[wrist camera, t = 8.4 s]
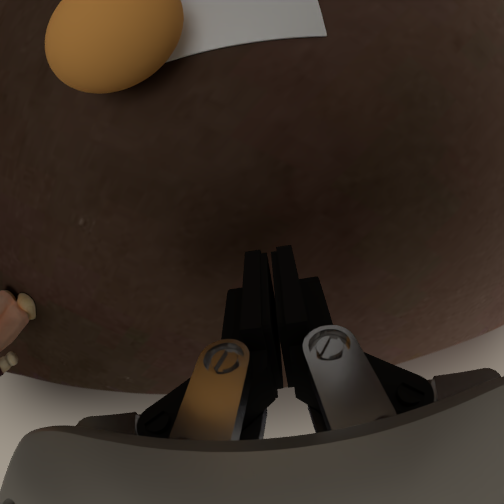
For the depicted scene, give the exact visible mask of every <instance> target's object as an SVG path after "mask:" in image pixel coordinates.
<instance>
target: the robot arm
mask: <svg viewBox="0 0 504 504" xmlns="http://www.w3.org/2000/svg"><path fill="white" fill-rule="evenodd" d="M276 249H277V251H274V252H271V257H272V268H273V279H274V291H275V296H274V291H273V285H272V280H271V274H270V269H269V263H268V258H267V253H261V251H260V250H255V251H249V252H245V260H244V274H243V288H237V289H230V290H228V293H227V300H226V308H225V315H224V323H223V330H222V338H221V340H219V341H216V342H213V343H212V344H210V345H208V346H207V347H206V348H205V349H204V350H203V351H202V352H201V354H200V356H199V358H198V361H197V363H196V366H195V369H194V371H193V374H192V377H191V378H189V379H188V380H187V381H185V382H184V383H182V384H181V385H180V386H178V387H177V388H176V389H174V390H173V391H171V392H170V393H169V394H167V395H166V396H164V397H163V398H162V399H160V400H159V401H158V402H156V403H155V404H153V405H152V406H150V407H149V408H147V409H146V410H145V411H144V412H143V413H142V414H141V415H138V414H137V413H136V412H132V413H124V414H116V415H115V414H114V415H103V416H90V417H86V418H84V419H82V420H81V421H79V423H78V424H77V425H76V426H50V427H44V428H40V429H36V430H34V431H31V432H29V433H28V434H26V435H25V436H24V437H23V438H22V440H21V441H20V442H19V444H18V446H17V448H16V450H15V452H14V454H13V456H12V458H11V461H10V463H9V466H8V468H7V472H6V475H5V477H4V481H3V484H2V487H1V491H0V504H504V377H501V376H500V374H499V373H497V372H496V371H495V370H493V369H490V368H483V369H477V370H472V371H467V372H460V373H453V374H446V375H439V376H434V377H433V379H432V380H426V379H425V378H423V377H421V376H419V375H417V374H414V373H412V372H410V371H407V370H405V369H402V368H400V367H397V366H395V365H393V364H390V363H388V362H386V361H383V360H381V359H379V358H376V357H374V356H372V355H369V354H367V353H365V352H363V350H362V349H361V347H360V345H359V343H358V341H357V340H356V338H355V336H354V335H353V334H352V333H351V332H350V331H349V330H347V329H346V328H344V327H341V326H337V325H333V323H332V320H331V317H330V313H329V310H328V307H327V303H326V300H325V297H324V294H323V290H322V287H321V284H320V281H319V278H318V277H311V278H304V279H299V278H298V274H297V269H296V264H295V260H294V256H293V251H292V247H291V245H287V246H281V247H276ZM280 343H281V348H282V354H283V360H284V365H285V371H286V377H287V382H288V388H289V387H294V388H295V394H296V398H298V399H299V400H301V401H303V402H304V403H306V404H308V410H309V413H310V416H311V420H312V423H313V426H314V429H315V432H316V433H313V434H307V435H299V436H291V437H282V438H271V439H263V436H264V430H265V424H266V418H267V407H268V406H269V405H270V404H271V403H272V402H274V400H275V398H278V391H277V389H281V388H283V376H282V362H281V350H280Z"/></svg>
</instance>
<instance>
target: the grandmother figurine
mask: <svg viewBox="0 0 504 504" xmlns="http://www.w3.org/2000/svg"><path fill="white" fill-rule="evenodd" d="M35 318H36V308H35V303H34V301H33V300H32V298H31V297H30V296H28V295H27V294H25V293H20V294H19V296H18V299H17V300H16V298H15V296H14V295H13V294H12V293H11V292H10V291H8V290H4V291H3V290H1V291H0V351H2V350H3V349H4V348H5V347H7V346H8V345H9V344H10V343H11V342H13V341H14V340H15V338H16V337H17V336H18V335H19V333H20V332H21V331H22V329H23V328H24V327H25V326H26V324H27V323H28V322H29V320H32V319H35ZM17 363H18V357H17V355H16V354H15V353H14V352H8V353H7V354H6V356H2V357H1V358H0V376H1V375H3V374H4V372H6V371H7V370H9V369H10V367H11V366H14V365H16V364H17Z"/></svg>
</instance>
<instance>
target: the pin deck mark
mask: <svg viewBox="0 0 504 504" xmlns="http://www.w3.org/2000/svg"><path fill="white" fill-rule="evenodd" d="M181 3H182V7H183V14H184V22H183V29H182V33H181V36H180V39H179V42H178V44H177V46H176V48H175V50H174V51H173V53H172V54H171V56H170V57H169V59H168V60H167V61H166V62H169V61H172V60H176V59H179V58H183V57H187V56H190V55H194V54H198V53H202V52H206V51H211V50H215V49H220V48H225V47H230V46H236V45H241V44H248V43H254V42H261V41H269V40H279V39H290V38H304V37H326V36H327V34H326V30H325V26H324V22H323V18H322V14H321V10H320V7H319V3H318V0H181ZM166 62H165V63H166Z"/></svg>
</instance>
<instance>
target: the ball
mask: <svg viewBox="0 0 504 504" xmlns="http://www.w3.org/2000/svg"><path fill="white" fill-rule="evenodd" d="M183 22H184V14H183V7H182V3H181V0H62V1H61V2H60V3H59V5H58V6H57V8H56V9H55V11H54V13H53V14H52V17H51V19H50V21H49V24H48V27H47V31H46V36H45V52H46V57H47V61H48V63H49V65H50V67H51V69H52V70H53V72H54V73H55V75H56V76H57V77H58V78H59V79H60V80H61V81H62V82H64V83H65V84H66V85H68V86H70V87H72V88H74V89H76V90H79V91H83V92H87V93H96V94H100V93H112V92H116V91H121V90H124V89H127V88H130V87H132V86H134V85H136V84H138V83H140V82H142V81H144V80H145V79H147V78H148V77H150V76H151V75H153V74H154V73H155V72H156V71H157V70H158V69H159V68H161V67H162V66H163V64H164V63H165V62H166V61H167V60H168V59H169V57H170V56H171V54H172V53H173V51H174V50H175V48H176V46H177V44H178V42H179V39H180V36H181V33H182V29H183Z"/></svg>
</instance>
